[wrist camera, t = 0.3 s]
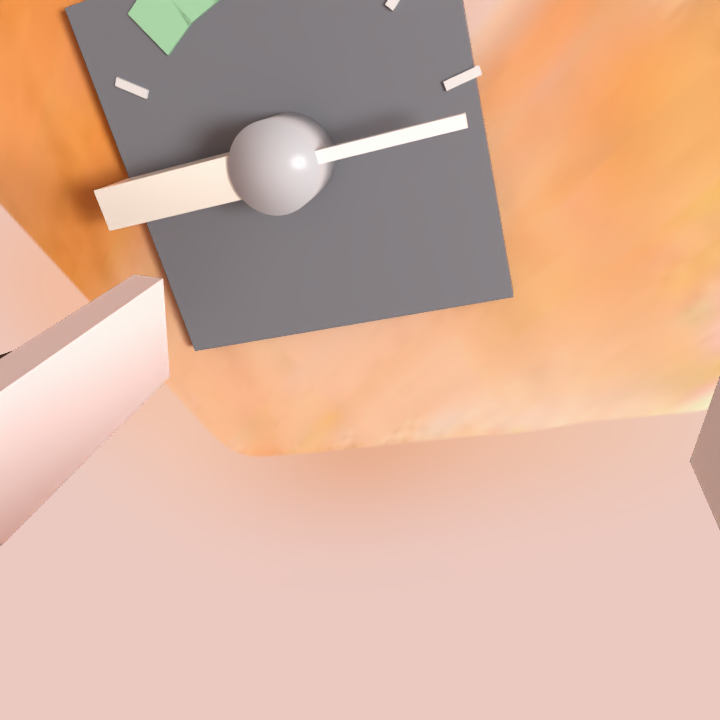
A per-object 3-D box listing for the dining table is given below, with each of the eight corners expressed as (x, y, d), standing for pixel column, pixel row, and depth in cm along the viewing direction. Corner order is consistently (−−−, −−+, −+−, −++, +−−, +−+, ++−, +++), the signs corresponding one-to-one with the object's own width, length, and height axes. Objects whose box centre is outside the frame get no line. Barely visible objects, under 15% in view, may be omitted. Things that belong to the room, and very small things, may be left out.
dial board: (67, -11, 39) (54, -13, 38) (445, -150, 32) (442, -156, 31) (200, 345, 47) (193, 352, 46) (519, 290, 41) (519, 297, 40)
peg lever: (460, 64, 35) (456, 67, 32) (478, 159, 37) (475, 172, 33) (118, 157, 41) (82, 168, 38) (148, 235, 43) (116, 252, 39)
